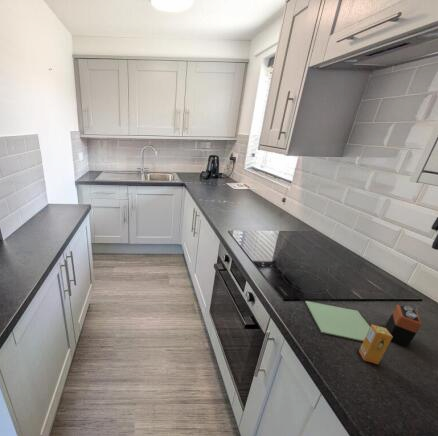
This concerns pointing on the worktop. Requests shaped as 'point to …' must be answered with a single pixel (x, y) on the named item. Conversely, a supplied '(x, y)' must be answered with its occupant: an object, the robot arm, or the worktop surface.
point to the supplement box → (375, 344)
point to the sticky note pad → (339, 321)
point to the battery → (403, 324)
